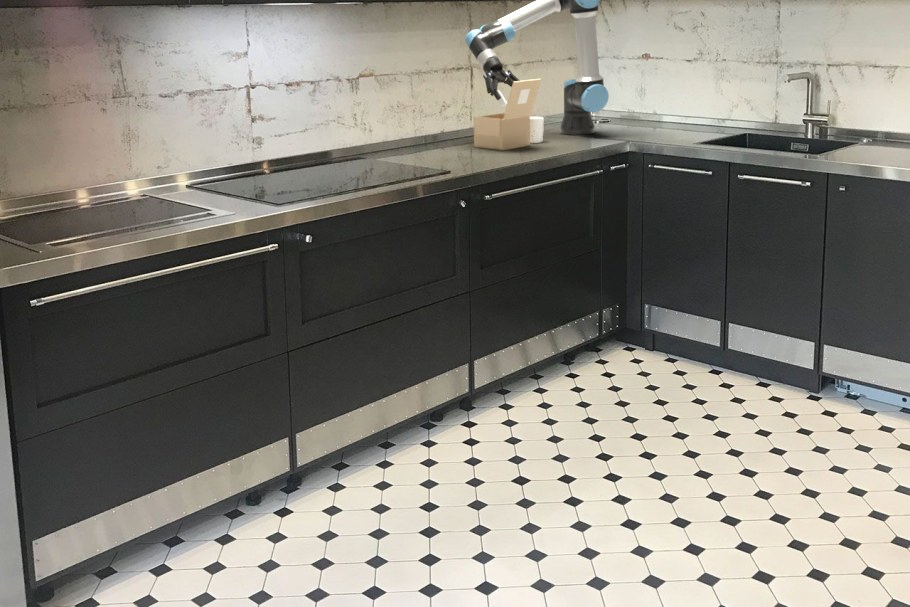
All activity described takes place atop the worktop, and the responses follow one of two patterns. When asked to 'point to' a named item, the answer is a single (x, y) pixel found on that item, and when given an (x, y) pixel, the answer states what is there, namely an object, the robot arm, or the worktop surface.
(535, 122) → the white cup
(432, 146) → the worktop surface
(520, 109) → the lid flap
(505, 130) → the carton
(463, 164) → the worktop surface
